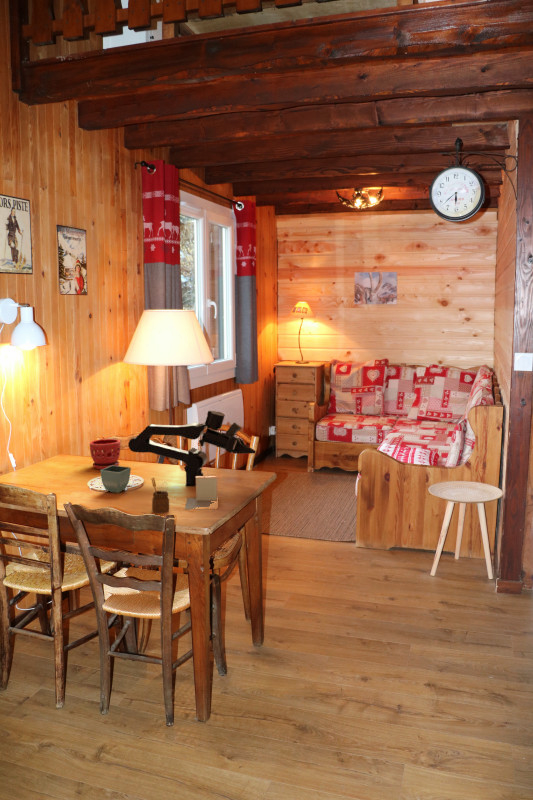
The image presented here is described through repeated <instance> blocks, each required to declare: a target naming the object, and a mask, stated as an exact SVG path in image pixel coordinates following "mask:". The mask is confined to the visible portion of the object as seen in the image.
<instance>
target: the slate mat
mask: <svg viewBox="0 0 533 800" xmlns="http://www.w3.org/2000/svg"><path fill="white" fill-rule="evenodd" d="M185 501H186V503H185V506H184V510H185V511H186V510H190V509H193V508H194V509H195V508H196V507H198V508H199V507H209V506H210V504H212V503H214V502H211V501H196V497H186V500H185ZM190 511H191V510H190Z"/></svg>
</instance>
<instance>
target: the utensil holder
mask: <svg viewBox="0 0 533 800" xmlns="http://www.w3.org/2000/svg"><path fill="white" fill-rule="evenodd" d="M151 483H152V487H153V488H154V491H153V494H152V499H151V502H152V503H151V506H152V507H151V509H152V513H155V514H164V513H165V514H166V513H168V512H170V498H169V497H168V496H169V492H168V491H167V489H168V487H169V486H166V488H164V487H165V484H167V482H162V484H161V485H160V490H157V489H156V486H157V485H156V479H155V477H152V478H151ZM163 489H164V490H163Z"/></svg>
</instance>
